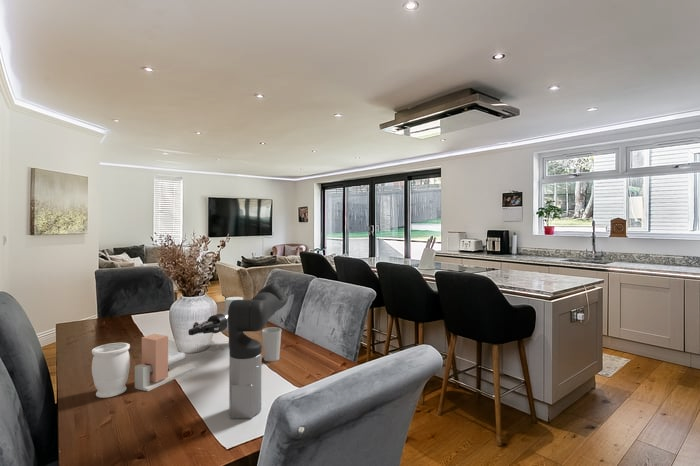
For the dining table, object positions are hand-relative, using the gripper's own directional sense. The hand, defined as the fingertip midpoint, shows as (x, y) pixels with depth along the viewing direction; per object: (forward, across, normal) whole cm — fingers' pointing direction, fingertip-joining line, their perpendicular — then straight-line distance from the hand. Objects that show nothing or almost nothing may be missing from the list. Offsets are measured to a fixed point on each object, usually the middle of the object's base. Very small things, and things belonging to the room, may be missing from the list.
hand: (189, 332), depth 143 cm
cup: (-20, +24, +14) cm, 34 cm away
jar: (+27, -7, +14) cm, 31 cm away
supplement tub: (-56, -24, +13) cm, 62 cm away
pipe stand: (+11, +1, +13) cm, 17 cm away
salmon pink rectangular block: (+15, 0, +12) cm, 19 cm away
